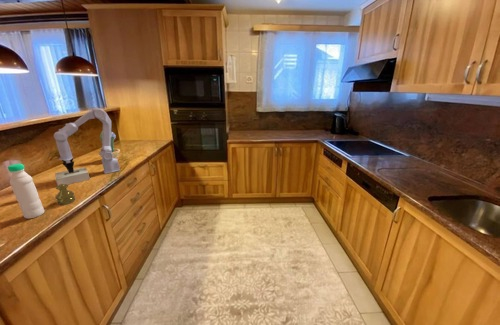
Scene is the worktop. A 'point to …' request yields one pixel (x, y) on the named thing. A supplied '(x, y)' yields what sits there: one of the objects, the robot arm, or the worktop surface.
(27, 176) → the white bottle
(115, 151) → the potted cactus
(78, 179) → the box
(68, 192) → the olive green lumpy piece
